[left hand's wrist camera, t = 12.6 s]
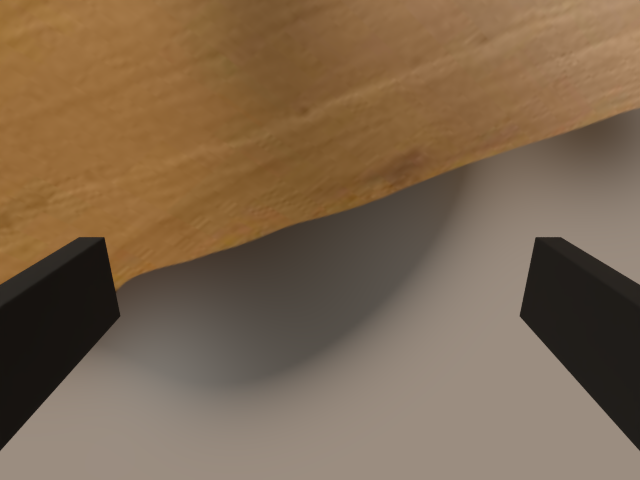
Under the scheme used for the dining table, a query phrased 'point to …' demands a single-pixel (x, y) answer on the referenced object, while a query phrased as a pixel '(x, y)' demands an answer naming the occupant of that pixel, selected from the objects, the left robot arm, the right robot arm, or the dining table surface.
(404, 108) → the dining table surface
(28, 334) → the left robot arm
